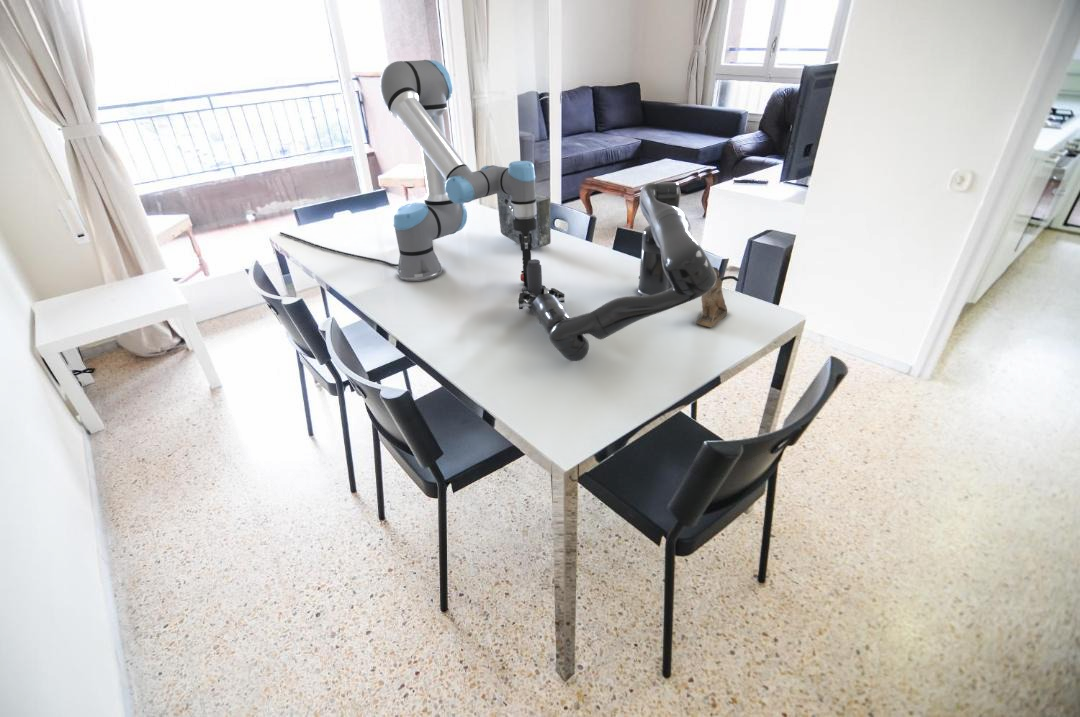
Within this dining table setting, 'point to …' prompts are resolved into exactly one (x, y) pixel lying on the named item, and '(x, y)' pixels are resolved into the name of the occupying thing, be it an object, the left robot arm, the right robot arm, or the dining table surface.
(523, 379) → the dining table surface
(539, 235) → the concrete block
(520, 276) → the lid
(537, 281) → the jar
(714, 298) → the worn brown figurine
